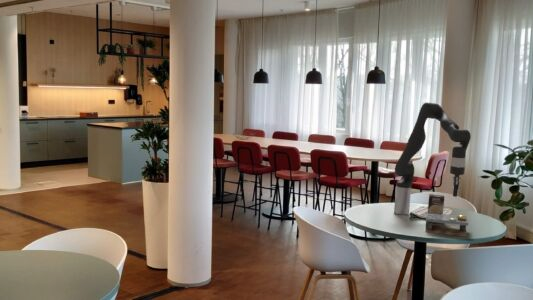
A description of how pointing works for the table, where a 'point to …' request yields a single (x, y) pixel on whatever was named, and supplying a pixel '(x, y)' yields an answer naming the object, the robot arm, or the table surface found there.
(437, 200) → the coffee box
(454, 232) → the walnut base
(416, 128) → the robot arm
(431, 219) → the level plate
